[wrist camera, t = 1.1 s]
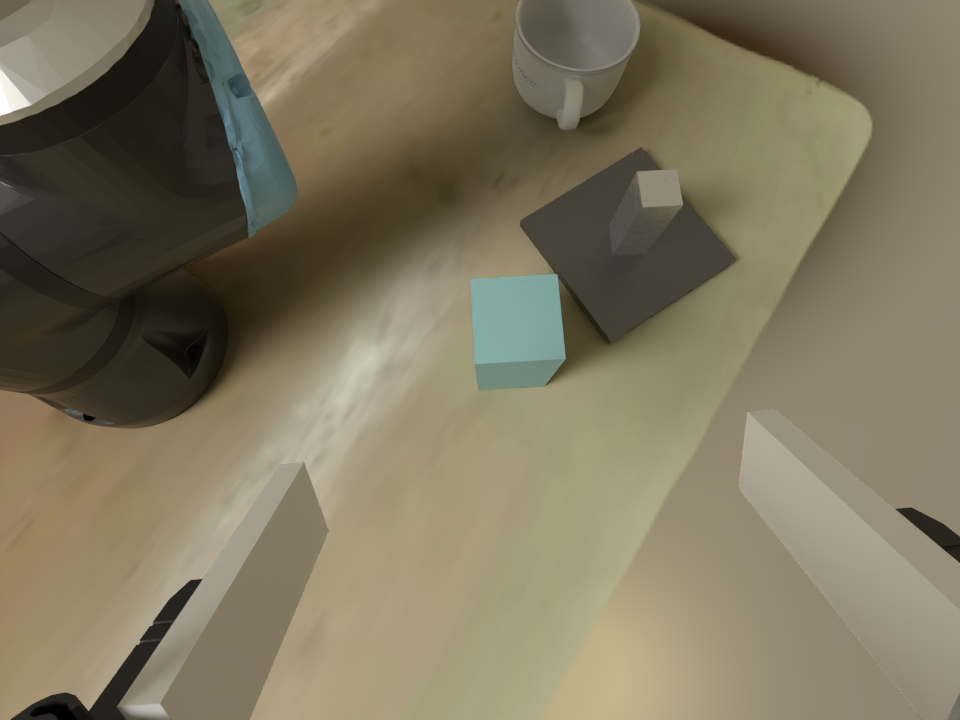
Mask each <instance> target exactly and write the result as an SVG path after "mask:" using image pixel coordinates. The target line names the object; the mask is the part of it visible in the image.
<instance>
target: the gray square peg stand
mask: <svg viewBox="0 0 960 720" xmlns="http://www.w3.org/2000/svg"><path fill="white" fill-rule="evenodd" d="M520 226H521V228H522V229H523V230H524V232H525V233H526V234H527V236H528V237H529V238H530V240H531V241H532V242H533V244H534V245H535V246H536V248H537V249H538V250H539V252H540V253H541V255H542V256H543V257H544V259H545V260H546V261H547V263H548V264H549V265H550V267H551V268H552V269H553V271H554V272H555V273H556V274H558V277H559V279H560V280H561V282H562V283H563V284H564V286H565V287H566V288H567V290H568V291H569V292H570V294H571V295H572V296H573V298H574V299H575V300H576V302H577V303H578V304H579V306H580V307H581V308H582V310H583V311H584V313H585V314H586V315H587V317H588V318H589V319H590V321H591V322H592V323H593V325H594V326H595V327H596V329H597V330H598V331H599V333H600V334H601V335H602V337H603V338H604V339H605V341H606V342H607V344H608V345H609V344H610V343H612V342H613V341H615V340H616V339H618V338H619V337H621V336H622V335H624V334H625V333H627V332H628V331H630V330H631V329H633V328H635V327H636V326H638V325H639V324H641V323H642V322H644V321H645V320H647V319H648V318H650V317H651V316H653V315H654V314H656V313H657V312H659V311H660V310H662V309H663V308H665V307H666V306H668V305H669V304H671V303H672V302H674V301H675V300H677V299H679V298H680V297H682V296H683V295H685V294H686V293H688V292H689V291H691V290H692V289H694V288H695V287H697V286H698V285H700V284H701V283H703V282H704V281H706V280H707V279H709V278H710V277H712V276H713V275H715V274H716V273H718V272H720V271H721V270H723V269H724V268H726V267H727V266H729V265H730V264H731V263H733V262H734V261H735V260H736V259H735V258H734V256H733V255H732V254H731V253H730V252H729V250H728V249H727V248H726V247H725V246H724V245H723V243H722V242H721V241H720V240H719V239H718V237H717V236H716V235H715V234H714V233H713V232H712V230H711V229H710V228H709V227H708V226H707V224H706V223H705V222H704V221H703V220H702V219H701V217H700V216H699V215H698V214H697V213H696V212H695V210H694V209H693V208H692V207H691V206H690V204H689V203H688V202H687V201H686V200H685V199H684V197H683V196H682V195H681V189H680V183H679V177H678V171H677V169H670V170H660V169H659V168H658V167H657V165H656V164H655V163H654V162H653V161H652V160H651V158H650V157H649V156H648V155H647V154H646V152H645V151H644V150H643V149H642V148H639V149H638V150H636V151H634V152H633V153H631V154H629V155H628V156H626V157H624V158H623V159H621V160H619V161H618V162H616V163H615V164H613V165H611V166H610V167H608V168H606V169H605V170H603V171H601V172H600V173H598V174H596V175H595V176H593V177H591V178H590V179H588V180H587V181H585V182H583V183H582V184H580V185H578V186H577V187H575V188H573V189H572V190H570V191H568V192H567V193H565V194H563V195H562V196H560V197H559V198H557V199H555V200H554V201H552V202H550V203H549V204H547V205H545V206H544V207H542V208H540V209H539V210H537V211H535V212H534V213H532V214H531V215H529V216H527V217H526V218H524V219H522V220H521V223H520Z"/></svg>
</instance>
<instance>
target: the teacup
mask: <svg viewBox="0 0 960 720" xmlns="http://www.w3.org/2000/svg"><path fill="white" fill-rule="evenodd" d="M515 24H516V27H515V35H514V44H513V59H512V68H513V77H514V81H515V85H516V87H517V90H518V92H519V93H520V95H521V97H522V98H523V99H524V101H525V102H526V103H527V104H528V105H529V106H530V107H531V108H533V109H534V110H535V111H537V112H539V113H541V114H543V115H545V116H548V117H551V118H555V119H557V121H558V125H559V127H560V128H561V129H563V130H574V129H575V128H576V127H577V125H578V123H579V120H580V118H582V117H585V116H587V115H590V114H591V113H593V112H595V111H597V110H598V109H599V108H600V107H602V106H603V105H604V104H605V103H606V102H607V100H608V99H609V98H610V96H611V95H612V93H613V92H614V90H615V88H616V86H617V84H618V82H619V80H620V78H621V76H622V74H623V72H624V70H625V67H626V65H627V63H628V60H629V58H630V56H631V53H632V52H633V51H634V49H635V47H636V45H637V43H638V39H639V36H640V29H641V25H640V18H639V15H638V12H637V9H636V7H635V5H634V4H633V2H632V1H631V0H519V2H518V4H517V9H516V14H515Z"/></svg>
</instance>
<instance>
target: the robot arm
mask: <svg viewBox="0 0 960 720" xmlns="http://www.w3.org/2000/svg"><path fill="white" fill-rule="evenodd" d="M296 195H297V185H296V181H295V178H294V175H293V173H292V171H291V168H290V166H289V163H288V161H287V159H286V157H285V154H284V152H283V150H282V148H281V146H280V143H279V141H278V139H277V137H276V135H275V133H274V131H273V129H272V127H271V124H270V122H269V120H268V118H267V116H266V114H265V112H264V110H263V108H262V106H261V104H260V102H259V100H258V98H257V96H256V94H255V92H254V91H253V90H252V88H251V86H250V82H249V80H248V78H247V76H246V74H245V72H244V70H243V68H242V66H241V64H240V61H239V59H238V57H237V55H236V53H235V51H234V49H233V47H232V45H231V43H230V41H229V39H228V37H227V35H226V33H225V31H224V29H223V27H222V25H221V23H220V21H219V20H218V18H217V16H216V14H215V12H214V10H213V8H212V7H211V5H210V3H209V1H208V0H0V390H5V391H12V392H19V393H26V394H29V395H31V396H33V397H35V398H37V399H39V400H41V401H42V402H44V403H46V404H48V405H50V406H52V407H54V408H56V409H58V410H60V411H62V412H64V413H65V414H67V415H69V416H71V417H73V418H75V419H77V420H79V421H82V422H85V423H88V424H92V425H97V426H104V427H115V428H142V427H148V426H152V425H155V424H158V423H161V422H164V421H166V420H168V419H171V418H173V417H174V416H176V415H178V414H180V413H181V412H183V411H184V410H186V409H187V408H188V407H190V406H191V405H192V404H193V403H194V402H195V401H196V400H197V399H198V398H200V396H201V395H202V394H203V393H204V392H205V391H206V389H207V388H208V387H209V386H210V384H211V383H212V381H213V379H214V378H215V376H216V374H217V372H218V370H219V368H220V366H221V363H222V360H223V357H224V353H225V349H226V342H227V326H226V319H225V315H224V312H223V309H222V306H221V304H220V302H219V300H218V299H217V297H216V295H215V294H214V293H213V291H212V290H211V289H210V288H209V287H208V286H207V285H206V284H205V283H204V282H203V281H201V280H200V279H198V278H197V277H195V276H194V275H192V274H191V273H189V272H187V271H186V270H184V268H186V267H188V266H190V265H192V264H194V263H196V262H198V261H200V260H202V259H204V258H206V257H208V256H210V255H212V254H214V253H216V252H218V251H220V250H222V249H224V248H226V247H229V246H231V245H233V244H235V243H237V242H239V241H241V240H243V239H245V238H251V237H252V236H254V235H255V234H256V231H257V230H258V229H260V228H262V227H263V226H265V225H267V224H268V223H270V222H272V221H273V220H275V219H277V218H278V217H280V216H282V215H284V214H285V213H287V212H288V211H289V209H290V208H291V207H292V205H293V203H294V202H295V200H296ZM738 488H739V490H740V491H741V492H742V493H743V495H744V496H745V497H746V498H747V500H748V501H749V502H750V504H751V505H752V506H753V507H754V509H755V510H756V511H757V512H758V514H759V515H760V516H761V517H762V519H763V520H764V521H765V523H766V524H767V525H768V526H769V528H770V529H771V530H772V531H773V533H774V534H775V535H776V536H777V538H778V539H779V540H780V541H781V543H782V544H783V545H784V546H785V548H786V549H787V550H788V552H789V553H790V554H791V555H792V557H793V558H794V559H795V560H796V562H797V563H798V564H799V566H800V567H801V568H802V569H803V571H804V572H805V573H806V574H807V576H808V577H809V578H810V579H811V581H812V582H813V583H814V584H815V586H816V587H817V588H818V589H819V591H820V592H821V593H822V595H823V596H824V597H825V598H826V600H827V601H828V602H829V603H830V605H831V606H832V607H833V608H834V610H835V611H836V612H837V614H838V615H839V616H840V617H841V619H842V620H843V621H844V622H845V624H846V625H847V626H848V627H849V629H850V630H851V631H852V633H853V634H854V635H855V636H856V638H857V639H858V640H859V641H860V643H861V644H862V645H863V646H864V648H865V649H866V650H867V651H868V653H869V654H870V655H871V657H872V658H873V659H874V660H875V661H876V663H877V664H878V665H879V667H880V668H881V669H882V670H883V672H884V673H885V674H886V675H887V677H888V678H889V679H890V680H891V682H892V683H893V684H894V685H895V687H896V688H897V689H898V691H899V692H900V693H901V694H902V696H903V697H904V698H905V699H906V701H907V702H908V703H909V704H910V706H911V707H912V708H913V710H914V711H915V712H916V713H917V715H918V716H919V717H920V718H921V719H922V720H960V537H959V536H958V535H957V534H955V533H954V532H953V531H952V530H950V529H949V528H948V527H946V526H945V525H944V524H943V523H941V522H939V521H937V520H935V519H933V518H931V517H929V516H927V515H925V514H923V513H921V512H919V511H917V510H915V509H913V508H902V509H894V508H893V507H892V506H891V505H889V504H888V503H887V502H886V501H885V500H883V499H882V498H881V497H880V496H879V495H877V494H876V493H875V492H874V491H873V490H872V489H870V488H869V487H868V486H867V485H866V484H864V483H863V482H862V481H861V480H860V479H858V478H857V477H856V476H855V475H853V474H852V473H851V472H850V471H849V470H848V469H846V468H845V467H844V466H843V465H841V464H840V463H839V462H838V461H837V460H836V459H834V458H833V457H832V456H831V455H829V454H828V453H827V452H826V451H825V450H824V449H822V448H821V447H820V446H819V445H818V444H816V443H815V442H814V441H813V440H812V439H810V438H809V437H808V436H807V435H806V434H804V433H803V432H802V431H801V430H799V429H798V428H797V427H796V426H795V425H794V424H792V423H791V422H790V421H789V420H788V419H787V418H785V417H784V416H783V415H782V414H780V413H779V412H778V411H777V410H776V409H768V410H759V411H751V412H747V419H746V427H745V436H744V445H743V454H742V462H741V470H740V479H739V487H738ZM328 531H329V530H328V528H327V525H326V522H325V519H324V516H323V514H322V511H321V508H320V505H319V502H318V500H317V497H316V494H315V491H314V488H313V486H312V483H311V480H310V477H309V475H308V472H307V469H306V466H305V463H304V462H301V463H292V464H283V465H279V467H278V468H277V470H276V471H275V473H274V474H273V476H272V477H271V479H270V480H269V482H268V483H267V485H266V486H265V488H264V489H263V491H262V492H261V494H260V495H259V496H258V498H257V499H256V501H255V502H254V504H253V505H252V507H251V508H250V510H249V511H248V513H247V514H246V516H245V517H244V519H243V520H242V522H241V523H240V525H239V526H238V528H237V529H236V531H235V532H234V534H233V535H232V537H231V538H230V540H229V541H228V543H227V544H226V546H225V547H224V548H223V550H222V551H221V553H220V554H219V556H218V557H217V559H216V560H215V562H214V563H213V565H212V566H211V568H210V569H209V571H208V572H207V574H206V575H205V577H204V578H203V579H198V580H190V581H189V582H188V583H187V584H186V585H185V586H184V587H183V588H181V589H180V590H179V591H178V592H177V593H176V594H175V595H174V596H173V597H172V598H170V599H169V600H168V602H167V603H166V605H165V606H164V607H163V609H162V610H161V612H160V613H159V614H158V616H157V617H156V619H155V620H154V621H153V626H150V627H149V628H148V630H147V631H146V632H145V634H144V635H143V637H142V638H141V639H140V644H139V645H136V646H135V648H134V649H133V651H132V652H131V653H130V655H129V656H128V657H127V659H126V660H125V662H124V663H123V664H122V666H121V667H120V669H119V670H118V671H117V673H116V674H115V676H114V677H113V678H112V680H111V681H110V683H109V684H108V685H107V687H106V688H105V689H104V691H103V692H102V694H101V695H100V696H99V698H98V699H97V701H96V702H95V703H94V705H93V706H92V708H91V709H90V710H89V711H88V710H87V709H86V708H85V706H84V705H83V704H82V703H81V701H80V700H79V699H78V698H77V697H76V696H75V695H72V694H69V693H61V694H55V695H51V696H49V697H46V698H44V699H42V700H40V701H38V702H36V703H34V704H32V705H31V706H29V707H28V708H26V709H25V710H23V711H22V712H21V713H19V714H18V715H16V716H15V717H13V718H12V719H11V720H250V717H251V715H252V713H253V710H254V708H255V705H256V703H257V701H258V698H259V696H260V694H261V691H262V689H263V686H264V684H265V682H266V679H267V677H268V674H269V672H270V670H271V667H272V665H273V662H274V660H275V658H276V655H277V653H278V651H279V648H280V646H281V643H282V641H283V639H284V636H285V634H286V631H287V629H288V627H289V624H290V622H291V619H292V617H293V615H294V612H295V610H296V608H297V605H298V603H299V600H300V598H301V596H302V593H303V591H304V588H305V586H306V584H307V581H308V579H309V577H310V574H311V572H312V569H313V567H314V565H315V562H316V560H317V557H318V555H319V553H320V550H321V548H322V545H323V543H324V541H325V538H326V536H327V534H328Z"/></svg>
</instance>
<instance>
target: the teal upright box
mask: <svg viewBox="0 0 960 720" xmlns="http://www.w3.org/2000/svg"><path fill="white" fill-rule="evenodd" d="M470 280H471V299H472V318H473V337H474V356H475V369H476V377H477V385H478V390H490V389H508V388H526V387H544V386H545V385H546V384H547V382H548V381H549V380H550V378H551V377H552V376H553V375H554V373H555V372H556V371H557V370H558V368H559V367H560V366H561V364H562V363H563V362H564V361H565V359H566V356H565V346H564V336H563V325H562V315H561V305H560V295H559V285H558V274H549V275H531V276H514V277H496V278H478V279H470Z"/></svg>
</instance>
